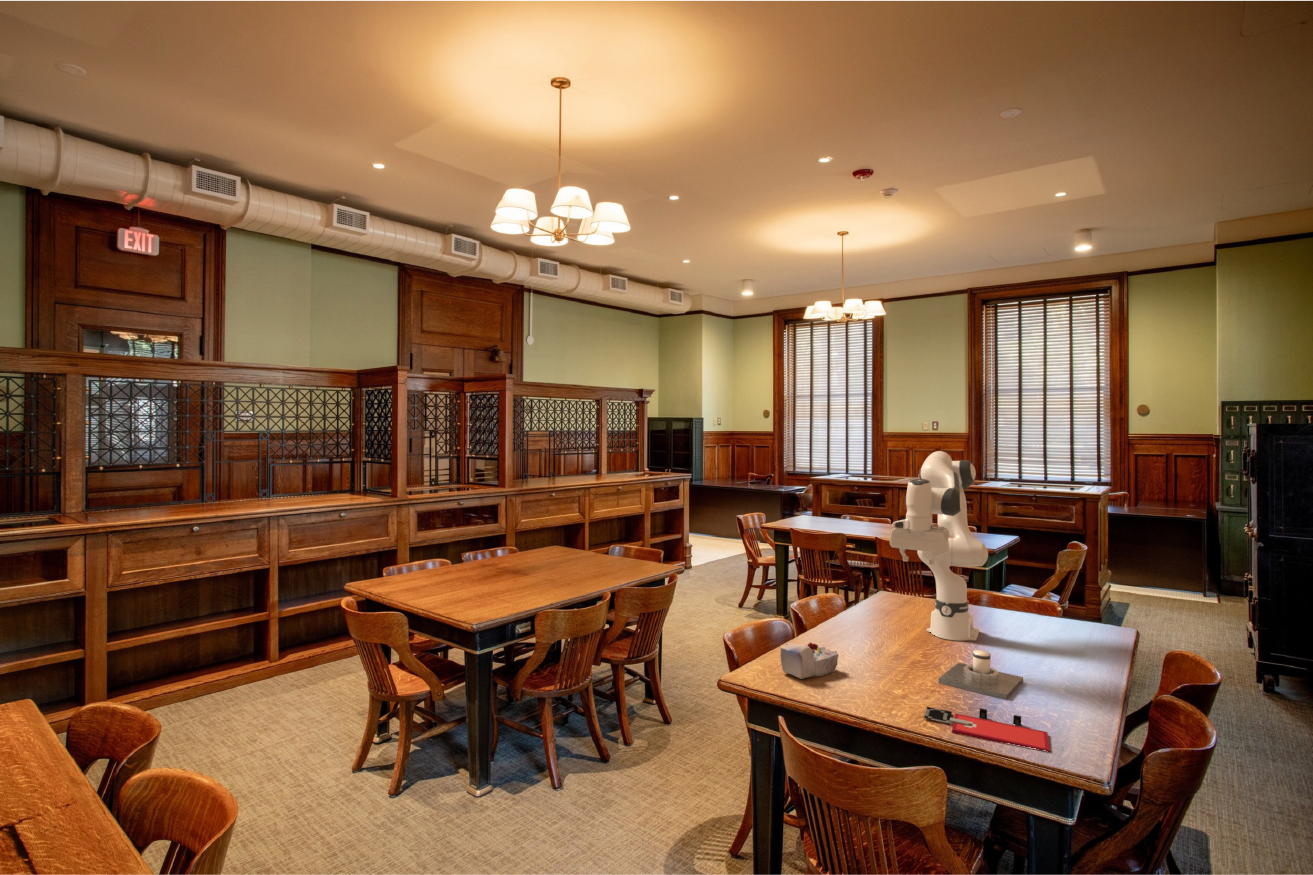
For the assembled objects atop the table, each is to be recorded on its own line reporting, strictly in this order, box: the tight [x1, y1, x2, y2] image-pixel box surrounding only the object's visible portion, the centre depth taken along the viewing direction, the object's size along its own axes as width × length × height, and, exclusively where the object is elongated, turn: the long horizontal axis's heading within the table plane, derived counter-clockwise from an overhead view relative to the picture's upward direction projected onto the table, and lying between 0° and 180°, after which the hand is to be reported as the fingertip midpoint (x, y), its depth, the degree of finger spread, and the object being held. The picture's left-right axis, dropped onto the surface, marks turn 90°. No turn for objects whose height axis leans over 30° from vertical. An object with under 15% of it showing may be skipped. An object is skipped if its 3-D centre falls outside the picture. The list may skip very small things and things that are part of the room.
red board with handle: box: [923, 706, 1051, 753], centre depth 179 cm, size 30×3×15 cm
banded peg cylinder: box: [972, 649, 992, 674], centre depth 213 cm, size 5×5×8 cm
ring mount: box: [938, 662, 1024, 701], centre depth 213 cm, size 20×20×4 cm
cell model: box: [779, 642, 839, 680], centre depth 220 cm, size 13×11×20 cm
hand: (918, 562), depth 236 cm, fingers open, 8 cm apart
